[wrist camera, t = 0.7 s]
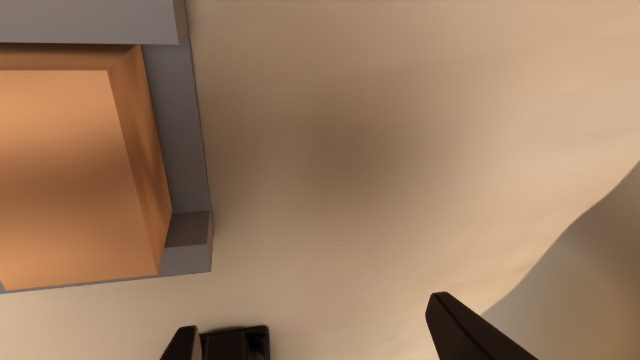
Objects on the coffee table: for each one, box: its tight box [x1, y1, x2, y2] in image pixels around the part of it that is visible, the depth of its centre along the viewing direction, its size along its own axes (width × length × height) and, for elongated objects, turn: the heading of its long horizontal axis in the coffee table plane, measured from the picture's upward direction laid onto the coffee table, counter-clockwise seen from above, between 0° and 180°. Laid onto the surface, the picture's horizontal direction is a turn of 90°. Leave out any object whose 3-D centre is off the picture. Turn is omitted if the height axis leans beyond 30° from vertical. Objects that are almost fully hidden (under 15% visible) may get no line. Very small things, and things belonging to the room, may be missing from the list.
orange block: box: [0, 42, 173, 290], centre depth 16 cm, size 9×6×5 cm, turn 177°
